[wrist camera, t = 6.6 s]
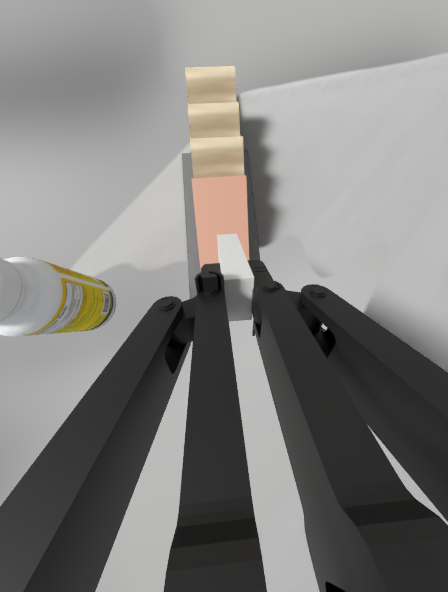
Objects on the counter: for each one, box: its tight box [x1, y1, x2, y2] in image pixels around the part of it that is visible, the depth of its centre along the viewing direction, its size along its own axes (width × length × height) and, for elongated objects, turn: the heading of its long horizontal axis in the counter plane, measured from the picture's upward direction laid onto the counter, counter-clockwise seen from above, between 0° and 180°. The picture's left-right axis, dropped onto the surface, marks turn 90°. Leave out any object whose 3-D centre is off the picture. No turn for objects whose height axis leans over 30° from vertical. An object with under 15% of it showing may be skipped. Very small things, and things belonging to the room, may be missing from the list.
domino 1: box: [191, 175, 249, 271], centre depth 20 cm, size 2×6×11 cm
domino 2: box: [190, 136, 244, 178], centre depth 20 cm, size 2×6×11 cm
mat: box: [182, 150, 260, 299], centre depth 23 cm, size 22×9×1 cm, turn 5°
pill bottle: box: [0, 257, 116, 336], centre depth 16 cm, size 6×6×11 cm
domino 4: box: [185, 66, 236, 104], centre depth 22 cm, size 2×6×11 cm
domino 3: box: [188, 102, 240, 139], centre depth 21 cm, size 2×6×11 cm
